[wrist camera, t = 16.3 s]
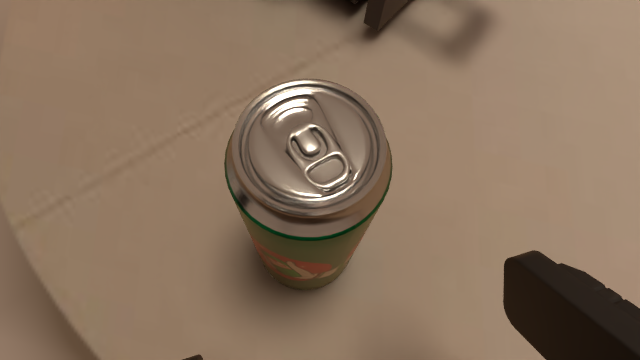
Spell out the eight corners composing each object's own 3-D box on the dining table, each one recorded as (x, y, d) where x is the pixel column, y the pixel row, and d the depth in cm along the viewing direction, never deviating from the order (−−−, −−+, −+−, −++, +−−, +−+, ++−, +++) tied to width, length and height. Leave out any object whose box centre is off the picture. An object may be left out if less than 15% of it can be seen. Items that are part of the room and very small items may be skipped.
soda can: (319, 186, 23) (337, 42, 12) (368, 259, 22) (438, 170, 11) (243, 229, 22) (186, 113, 11) (288, 310, 20) (275, 268, 9)
